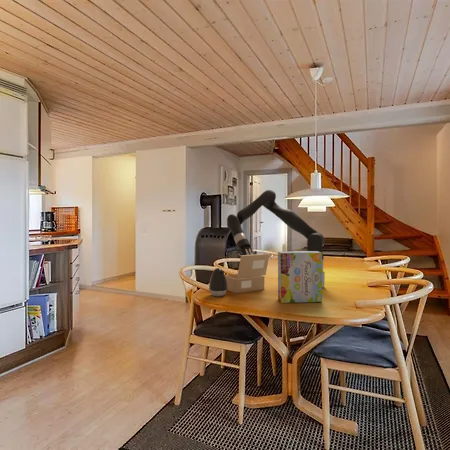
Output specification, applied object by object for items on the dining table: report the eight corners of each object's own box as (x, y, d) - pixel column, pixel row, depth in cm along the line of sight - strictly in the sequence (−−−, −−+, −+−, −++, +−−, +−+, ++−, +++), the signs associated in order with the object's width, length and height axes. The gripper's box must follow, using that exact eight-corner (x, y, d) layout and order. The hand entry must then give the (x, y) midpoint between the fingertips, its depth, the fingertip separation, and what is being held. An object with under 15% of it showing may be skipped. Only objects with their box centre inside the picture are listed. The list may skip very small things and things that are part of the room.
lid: (264, 274, 198) (265, 275, 197) (237, 277, 188) (237, 278, 187) (269, 253, 194) (269, 253, 193) (240, 255, 184) (241, 255, 183)
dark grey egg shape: (216, 298, 176) (216, 270, 176) (205, 294, 185) (205, 267, 184) (231, 296, 182) (231, 268, 182) (220, 292, 191) (220, 266, 190)
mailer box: (264, 289, 198) (264, 276, 198) (236, 293, 188) (236, 279, 188) (250, 285, 211) (251, 272, 210) (223, 288, 200) (223, 275, 200)
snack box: (317, 298, 177) (318, 250, 177) (322, 303, 169) (323, 252, 168) (277, 298, 177) (277, 250, 176) (280, 303, 168) (280, 252, 167)
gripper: (235, 238, 195) (246, 262, 185) (253, 237, 202) (265, 260, 192) (230, 246, 200) (240, 270, 190) (248, 245, 207) (259, 268, 197)
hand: (253, 265), depth 191 cm, fingers closed
